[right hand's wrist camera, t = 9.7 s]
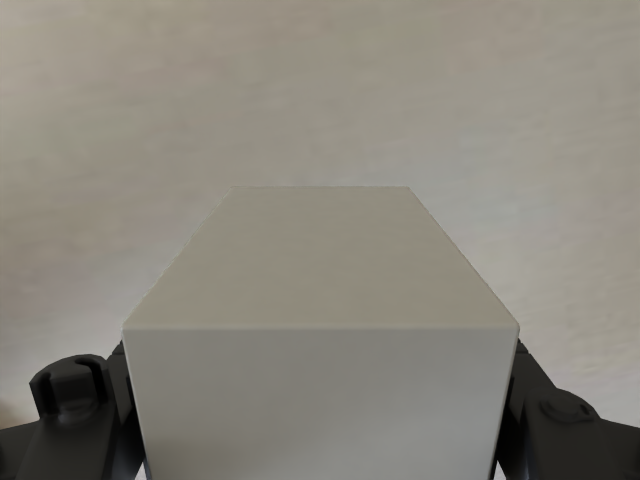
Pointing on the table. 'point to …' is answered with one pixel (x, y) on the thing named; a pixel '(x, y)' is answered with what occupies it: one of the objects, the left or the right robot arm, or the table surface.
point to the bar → (320, 344)
